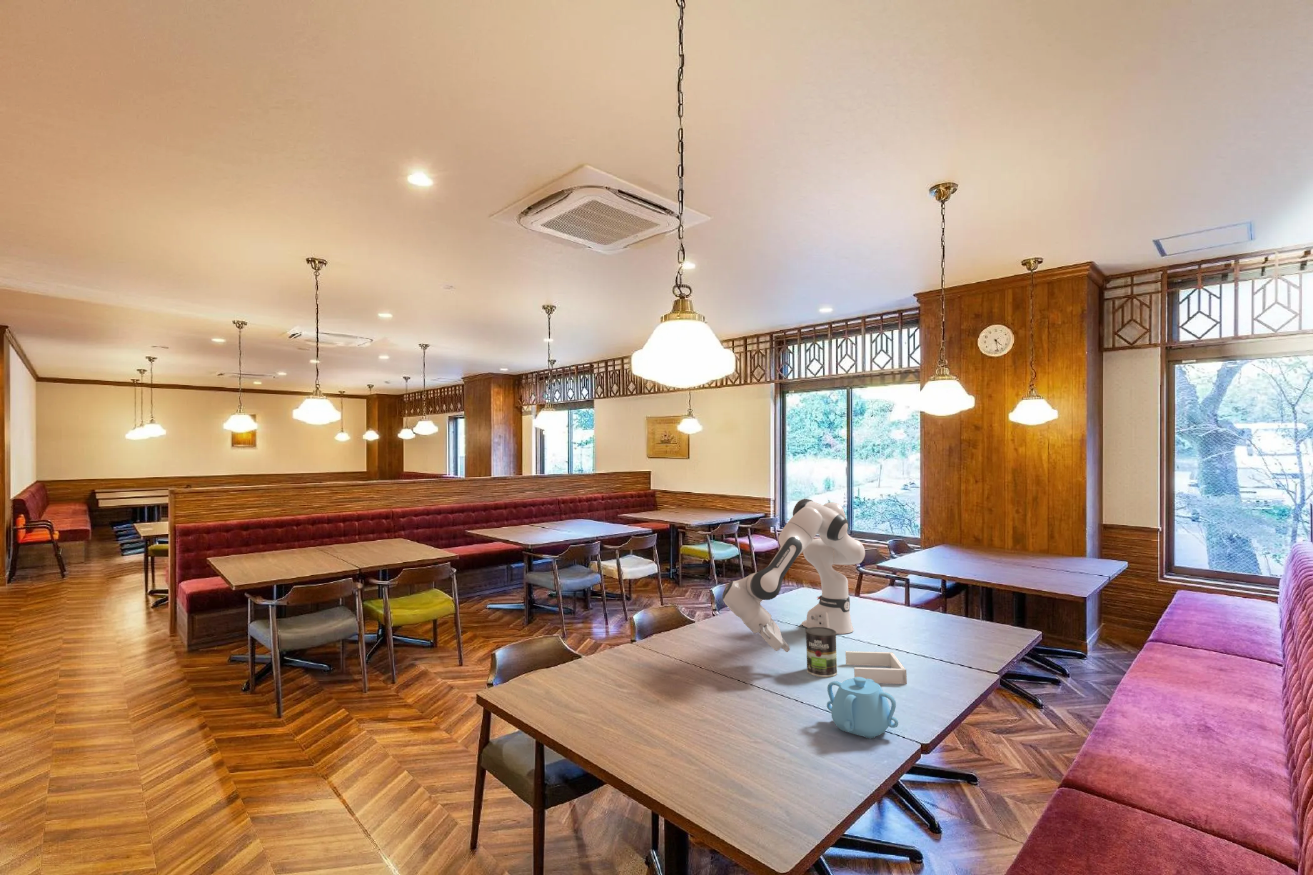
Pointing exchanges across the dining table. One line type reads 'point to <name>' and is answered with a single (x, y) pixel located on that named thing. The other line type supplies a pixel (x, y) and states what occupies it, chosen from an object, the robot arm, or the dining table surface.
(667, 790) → the dining table surface
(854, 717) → the decorative pot
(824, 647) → the coffee can
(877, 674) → the box
